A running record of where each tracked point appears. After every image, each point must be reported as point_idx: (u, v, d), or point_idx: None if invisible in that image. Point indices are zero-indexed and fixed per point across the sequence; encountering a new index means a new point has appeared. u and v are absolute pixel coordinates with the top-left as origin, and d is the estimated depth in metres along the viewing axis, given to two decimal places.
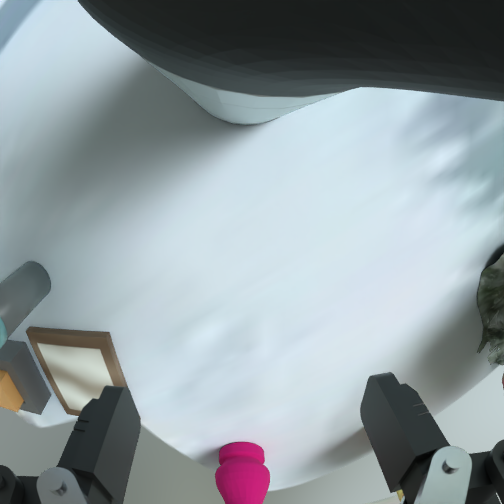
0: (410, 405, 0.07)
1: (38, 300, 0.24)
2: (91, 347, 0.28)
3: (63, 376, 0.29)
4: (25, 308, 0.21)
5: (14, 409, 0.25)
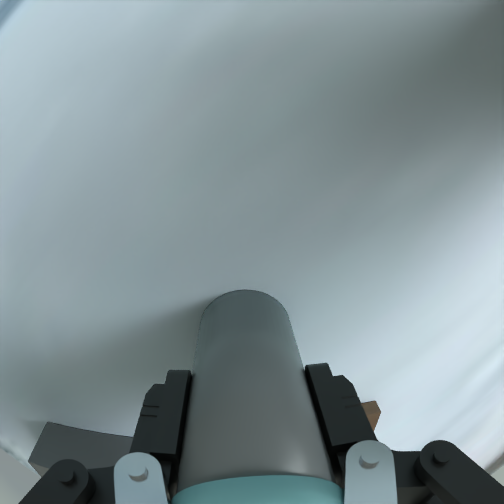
0: (338, 396, 0.08)
1: None
2: None
3: None
4: None
5: None
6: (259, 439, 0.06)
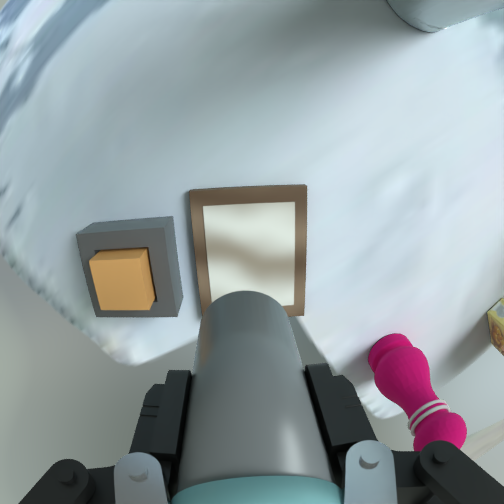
0: (338, 395, 0.08)
1: None
2: (284, 200, 0.29)
3: (225, 253, 0.30)
4: None
5: (145, 306, 0.27)
6: (258, 439, 0.06)
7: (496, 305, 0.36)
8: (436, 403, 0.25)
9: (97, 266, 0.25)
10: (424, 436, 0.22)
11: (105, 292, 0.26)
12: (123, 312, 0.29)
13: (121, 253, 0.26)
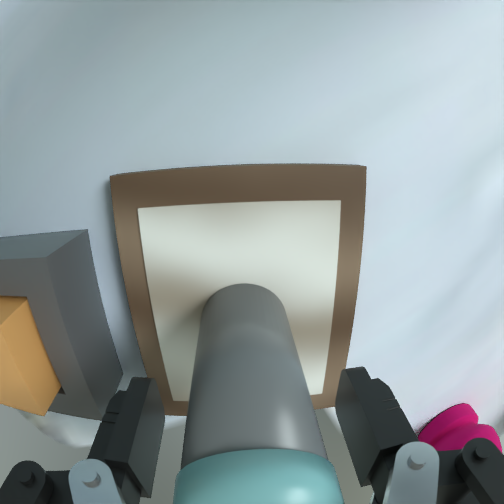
0: (379, 399, 0.08)
1: None
2: (318, 197, 0.13)
3: (190, 308, 0.14)
4: None
5: (36, 409, 0.10)
6: (256, 416, 0.07)
7: None
8: None
9: None
10: None
11: None
12: None
13: None
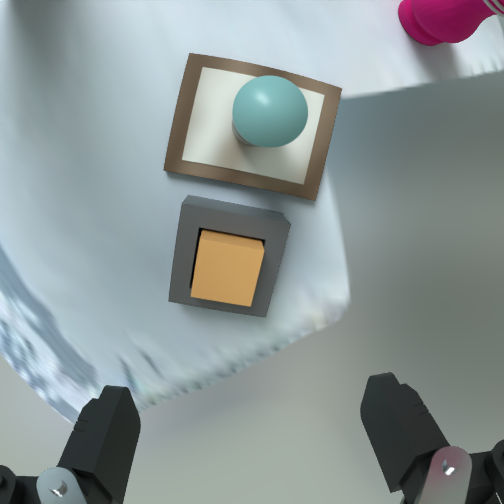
0: (410, 405, 0.07)
1: None
2: (198, 76, 0.23)
3: (240, 149, 0.26)
4: None
5: (258, 253, 0.24)
6: None
7: None
8: None
9: (198, 289, 0.25)
10: None
11: (230, 293, 0.25)
12: (268, 284, 0.27)
13: None
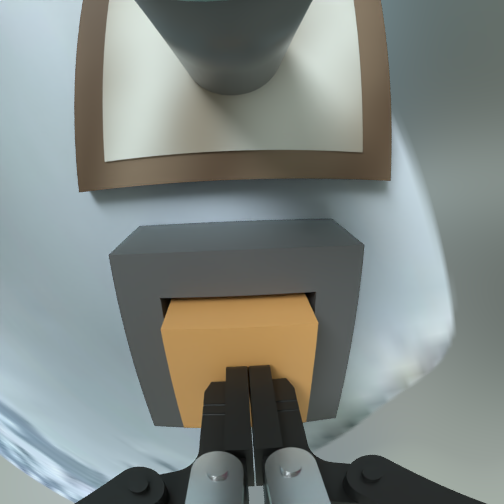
0: (273, 399, 0.08)
1: None
2: (106, 6, 0.09)
3: (215, 107, 0.11)
4: None
5: (305, 330, 0.10)
6: None
7: None
8: None
9: (195, 416, 0.11)
10: None
11: None
12: (334, 370, 0.12)
13: None
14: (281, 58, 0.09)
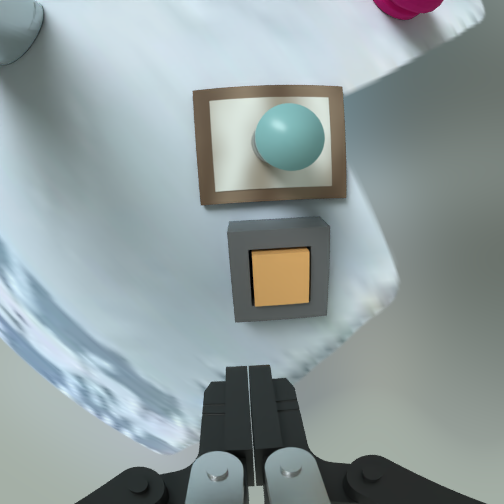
0: (273, 399, 0.08)
1: None
2: (208, 111, 0.26)
3: (266, 168, 0.28)
4: None
5: (304, 255, 0.27)
6: None
7: None
8: None
9: (261, 299, 0.28)
10: None
11: (289, 295, 0.28)
12: (322, 284, 0.29)
13: None
14: None
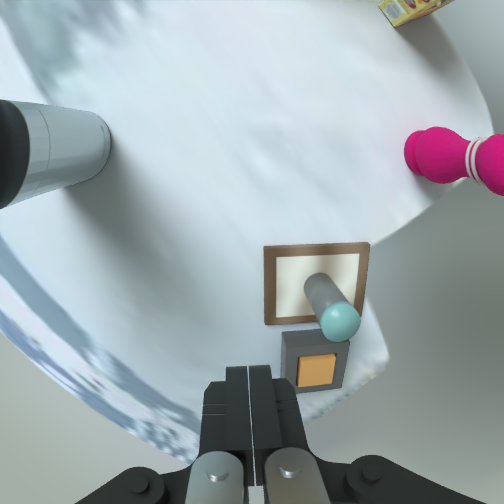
0: (273, 399, 0.08)
1: (330, 281, 0.37)
2: (275, 264, 0.39)
3: None
4: (332, 288, 0.35)
5: (332, 359, 0.40)
6: (317, 316, 0.33)
7: (386, 15, 0.29)
8: (468, 158, 0.24)
9: (302, 383, 0.41)
10: (492, 190, 0.22)
11: (320, 380, 0.41)
12: (340, 372, 0.42)
13: (297, 366, 0.42)
14: None
